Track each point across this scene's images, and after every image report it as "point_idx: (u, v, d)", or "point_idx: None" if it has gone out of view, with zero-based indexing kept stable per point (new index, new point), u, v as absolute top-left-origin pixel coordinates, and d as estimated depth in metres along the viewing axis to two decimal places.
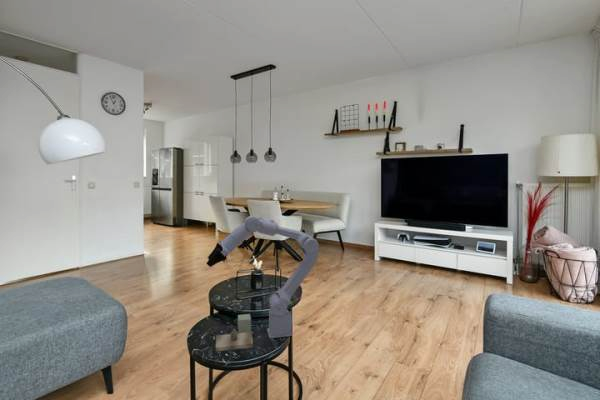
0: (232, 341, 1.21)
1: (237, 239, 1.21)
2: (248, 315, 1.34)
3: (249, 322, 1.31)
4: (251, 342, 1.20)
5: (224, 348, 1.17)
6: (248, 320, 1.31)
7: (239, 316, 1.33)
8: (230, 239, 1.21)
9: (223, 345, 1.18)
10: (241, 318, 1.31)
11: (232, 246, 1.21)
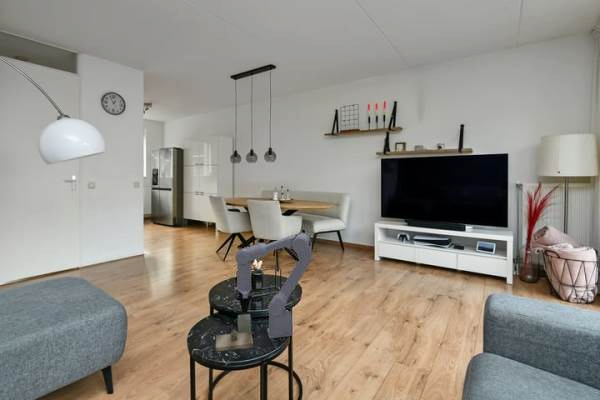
0: (232, 341, 1.21)
1: (242, 277, 1.28)
2: (248, 315, 1.34)
3: (249, 322, 1.31)
4: (251, 342, 1.20)
5: (224, 348, 1.17)
6: (248, 320, 1.31)
7: (239, 316, 1.33)
8: (240, 281, 1.29)
9: (223, 345, 1.18)
10: (241, 318, 1.31)
11: (247, 284, 1.29)
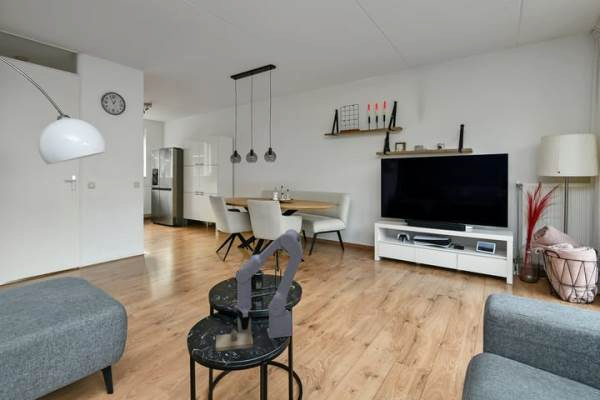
0: (232, 341, 1.21)
1: (242, 295, 1.29)
2: None
3: (249, 322, 1.31)
4: (251, 342, 1.20)
5: (224, 348, 1.17)
6: None
7: None
8: (241, 300, 1.29)
9: (223, 345, 1.18)
10: None
11: (247, 302, 1.30)
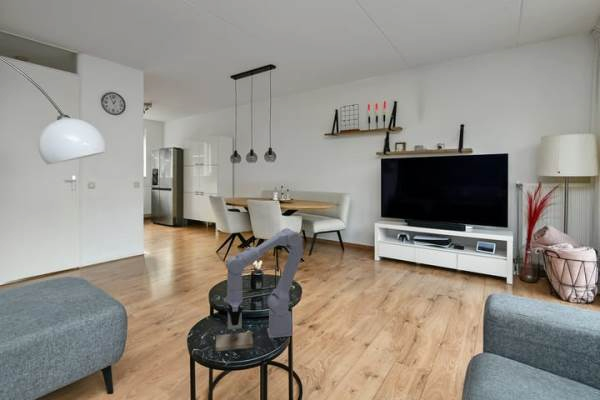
0: (232, 341, 1.21)
1: (237, 288, 1.19)
2: None
3: (239, 318, 1.20)
4: (251, 342, 1.20)
5: (224, 348, 1.17)
6: None
7: None
8: (231, 293, 1.19)
9: (223, 345, 1.18)
10: None
11: (238, 296, 1.19)
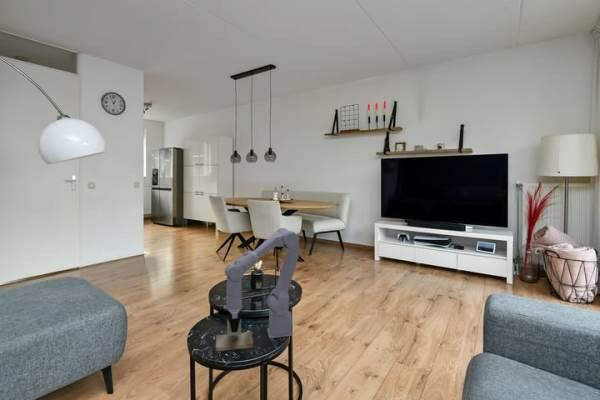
0: (232, 341, 1.21)
1: (236, 294, 1.18)
2: None
3: (239, 324, 1.20)
4: (251, 342, 1.20)
5: (224, 348, 1.17)
6: None
7: None
8: (230, 300, 1.18)
9: (223, 345, 1.18)
10: None
11: (237, 302, 1.19)
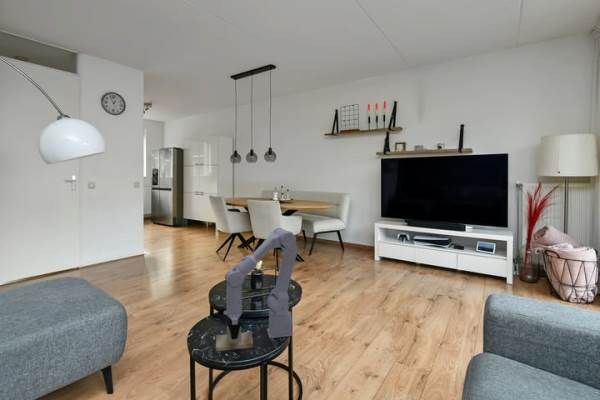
0: None
1: (236, 300, 1.19)
2: None
3: (239, 332, 1.20)
4: (251, 342, 1.20)
5: (224, 348, 1.17)
6: None
7: None
8: (230, 305, 1.18)
9: (223, 345, 1.18)
10: None
11: (237, 308, 1.19)
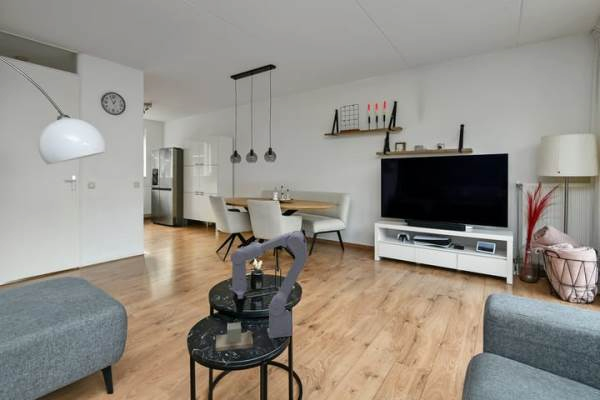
0: None
1: (237, 277, 1.28)
2: (238, 324, 1.23)
3: (239, 332, 1.20)
4: (251, 342, 1.20)
5: (224, 348, 1.17)
6: (238, 329, 1.20)
7: (228, 325, 1.22)
8: (235, 282, 1.28)
9: (223, 345, 1.18)
10: (230, 327, 1.20)
11: (242, 284, 1.29)
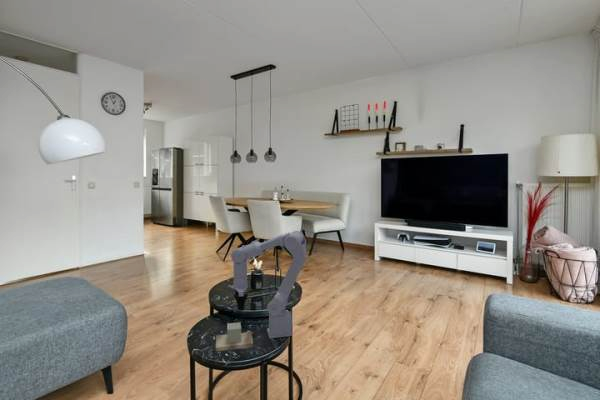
0: None
1: (238, 275, 1.31)
2: (238, 324, 1.23)
3: (239, 332, 1.20)
4: (251, 342, 1.20)
5: (224, 348, 1.17)
6: (238, 329, 1.20)
7: (228, 325, 1.22)
8: (237, 280, 1.31)
9: (223, 345, 1.18)
10: (230, 327, 1.20)
11: (243, 282, 1.31)
